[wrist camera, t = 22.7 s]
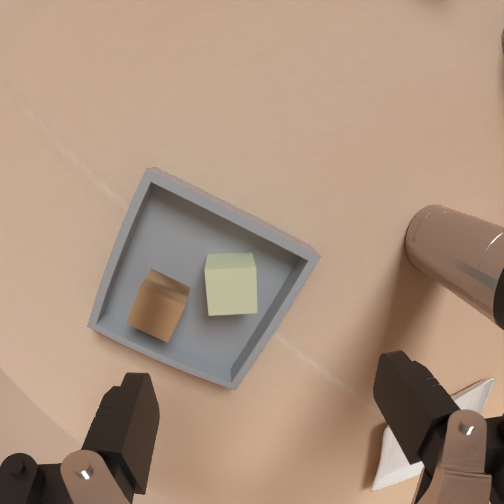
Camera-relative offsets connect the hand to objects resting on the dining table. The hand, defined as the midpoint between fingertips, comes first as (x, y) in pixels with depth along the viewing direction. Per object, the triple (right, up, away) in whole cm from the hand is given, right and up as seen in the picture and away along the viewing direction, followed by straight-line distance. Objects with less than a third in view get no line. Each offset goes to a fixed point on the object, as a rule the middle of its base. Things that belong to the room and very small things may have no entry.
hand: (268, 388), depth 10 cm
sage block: (-3, +2, +26) cm, 26 cm away
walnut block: (-11, -1, +26) cm, 28 cm away
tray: (-7, +1, +27) cm, 28 cm away
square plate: (+38, -35, +43) cm, 67 cm away
